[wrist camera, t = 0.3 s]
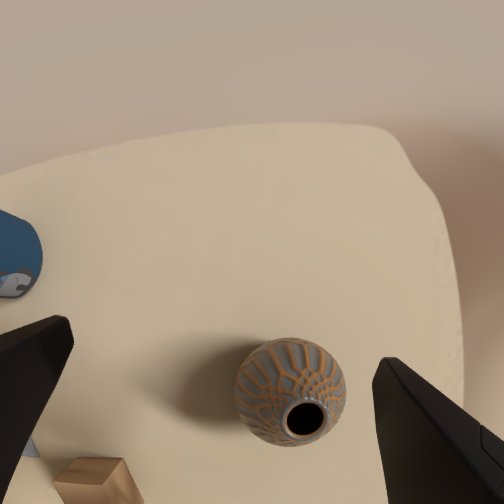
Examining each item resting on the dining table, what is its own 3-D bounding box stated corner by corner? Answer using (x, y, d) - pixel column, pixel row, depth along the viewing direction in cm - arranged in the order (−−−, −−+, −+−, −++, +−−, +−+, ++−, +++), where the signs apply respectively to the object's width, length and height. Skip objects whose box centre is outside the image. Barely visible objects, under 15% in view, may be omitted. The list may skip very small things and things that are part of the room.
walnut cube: (144, 501, 19) (129, 532, 14) (99, 499, 19) (78, 526, 14) (123, 457, 20) (101, 485, 15) (77, 458, 19) (51, 481, 14)
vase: (218, 396, 21) (206, 447, 12) (262, 316, 22) (276, 325, 14) (299, 432, 21) (327, 490, 12) (342, 356, 22) (396, 382, 13)
